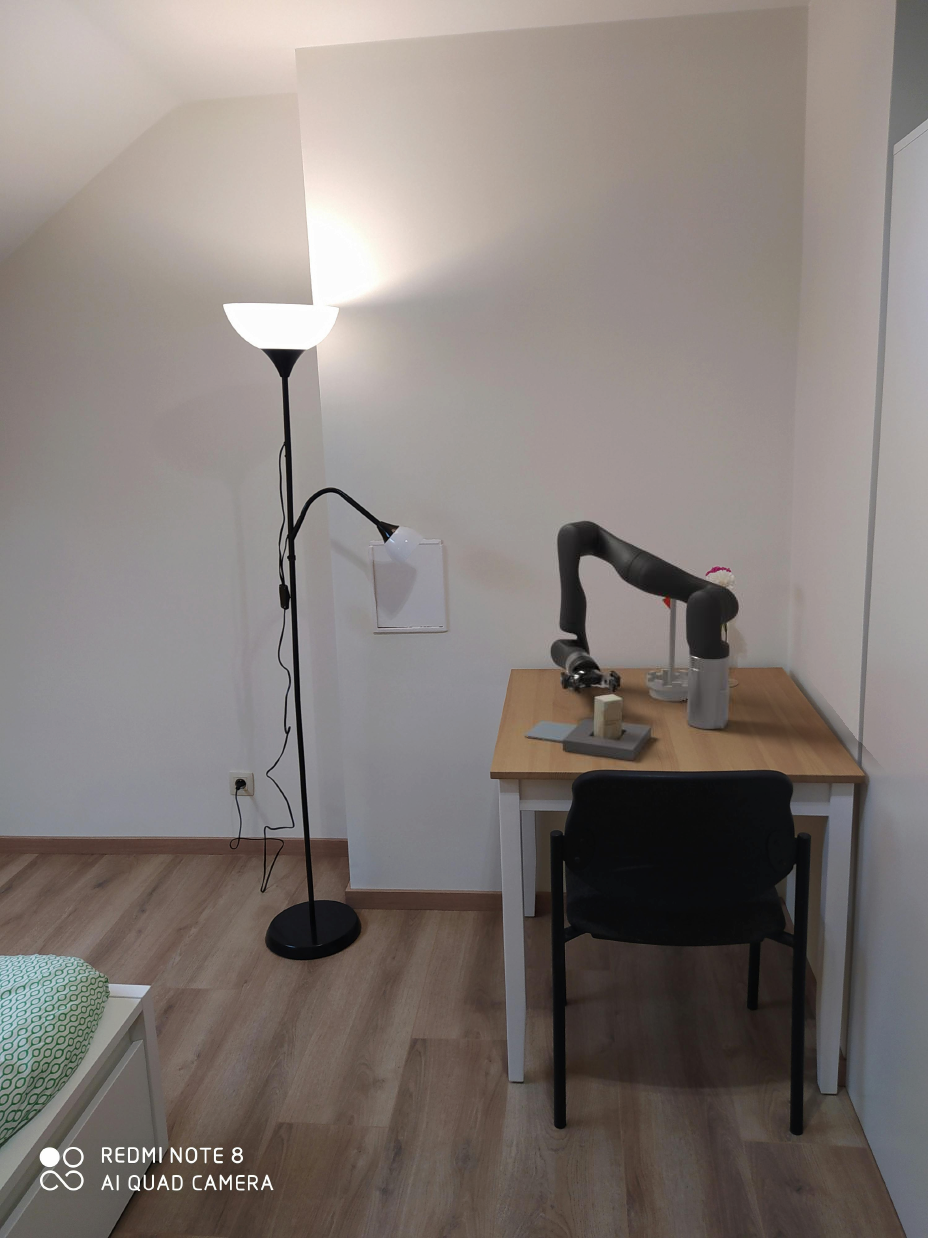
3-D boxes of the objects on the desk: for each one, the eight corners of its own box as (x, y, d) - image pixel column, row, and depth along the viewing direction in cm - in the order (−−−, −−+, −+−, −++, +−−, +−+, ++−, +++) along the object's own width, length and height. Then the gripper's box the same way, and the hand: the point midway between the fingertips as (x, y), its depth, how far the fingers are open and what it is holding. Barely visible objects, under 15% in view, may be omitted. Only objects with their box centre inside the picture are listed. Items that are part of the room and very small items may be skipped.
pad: (580, 728, 219) (580, 726, 219) (565, 743, 209) (565, 741, 209) (541, 722, 223) (541, 720, 223) (524, 737, 213) (524, 735, 213)
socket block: (650, 736, 212) (651, 726, 211) (632, 760, 198) (632, 749, 197) (585, 727, 219) (585, 718, 218) (562, 750, 205) (562, 740, 204)
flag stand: (706, 698, 239) (710, 585, 232) (664, 705, 234) (667, 590, 227) (676, 685, 251) (680, 577, 244) (636, 691, 246) (638, 582, 239)
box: (602, 748, 205) (603, 701, 203) (592, 742, 209) (593, 696, 207) (622, 744, 207) (623, 698, 205) (612, 738, 211) (612, 693, 209)
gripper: (555, 656, 232) (567, 675, 216) (610, 654, 233) (626, 673, 217) (554, 684, 233) (566, 705, 218) (609, 682, 234) (625, 702, 219)
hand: (596, 689), depth 217 cm, fingers open, 8 cm apart
